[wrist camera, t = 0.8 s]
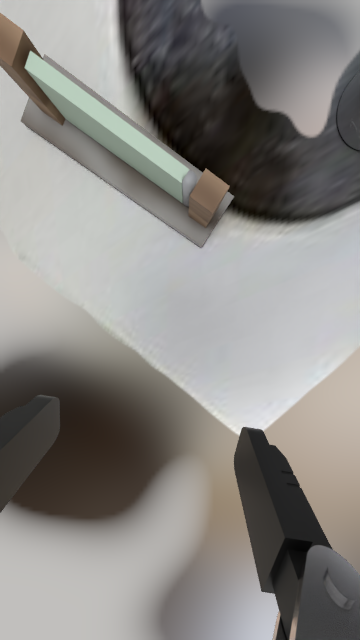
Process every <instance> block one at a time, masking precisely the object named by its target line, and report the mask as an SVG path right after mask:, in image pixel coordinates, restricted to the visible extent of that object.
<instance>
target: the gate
mask: <svg viewBox="0 0 360 640" xmlns="http://www.w3.org/2000/svg"><path fill="white" fill-rule="evenodd" d="M25 69H26V70H27V72H28V73H29V74H30V75H31V77H32V78H33V79H34V80H35V82H36V83H37V84H38V85H39V87H40V88H41V89H42V90H43V92H44V93H45V94H46V95H47V97H48V98H49V99H50V100H51V101H52V103H53V104H54V105H55V106H56V108H57V109H58V110H59V111H60V113H61V114H62V115H63V116H64V118H65V119H66V120H68V121H69V122H70V123H72V124H73V125H74V126H76V127H77V128H79V129H80V130H81V131H83V132H84V133H86V134H87V135H88V136H90V137H91V138H92V139H94V140H95V141H97V142H98V143H99V144H101V145H102V146H104V147H105V148H106V149H108V150H109V151H111V152H112V153H113V154H115V155H116V156H117V157H119V158H120V159H122V160H123V161H124V162H126V163H127V164H129V165H130V166H131V167H133V168H134V169H136V170H137V171H138V172H140V173H141V174H142V175H144V176H145V177H147V178H148V179H149V180H151V181H152V182H154V183H155V184H156V185H158V186H159V187H160V188H162V189H163V190H165V191H166V192H167V193H169V194H170V195H172V196H173V197H174V198H176V199H177V200H179V201H180V202H181V203H183V204H184V205H185V206H186V207H189V196H190V194H191V193H192V191H193V189H194V188H195V186H196V183H197V176H196V174H195V173H194V172H193V171H191V170H189V169H188V168H187V167H186V166H184V165H183V164H182V163H180V162H179V161H178V160H176V159H175V158H174V157H172V156H171V155H170V154H168V153H167V152H166V151H164V150H163V149H162V148H160V147H159V146H158V145H156V144H155V143H154V142H152V141H151V140H150V139H148V138H147V137H146V136H144V135H143V134H142V133H140V132H139V131H137V130H136V129H135V128H133V127H132V126H131V125H129V124H128V123H127V122H125V121H124V120H123V119H121V118H120V117H119V116H117V115H116V114H115V113H113V112H112V111H111V110H109V109H108V108H107V107H105V106H104V105H103V104H101V103H100V102H99V101H97V100H96V99H95V98H93V97H92V96H91V95H89V94H88V93H87V92H85V91H84V90H83V89H81V88H80V87H79V86H77V85H76V84H75V83H73V82H72V81H71V80H69V79H68V78H67V77H65V76H64V75H63V74H61V73H60V72H59V71H57V70H56V69H55V68H53V67H52V66H51V65H49V64H48V63H46V62H45V61H44V60H42V59H41V58H40V57H38V56H37V55H36V54H34V53H33V52H32V51H30V53H29V56H28V59H27V62H26V65H25Z"/></svg>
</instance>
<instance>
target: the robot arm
mask: <svg viewBox="0 0 360 640" xmlns="http://www.w3.org/2000/svg"><path fill="white" fill-rule="evenodd" d="M337 125H338V128H339V132H340V134H341V136H342V138H343V140H344V141H345V142H346V143H347V144H348V145H349V146H351V147H352V148H354V149H357V150H360V71H359V72H358V73H357V74H356V75H355V76H354V78H353V79H352V80H351V81H350V83H349V84H348V85H347V87H346V88H345V90H344V92H343V94H342V96H341V99H340V102H339V106H338V112H337ZM59 430H60V402H59V399H58V398H56V397H50V396H43V395H38V396H36V397H35V398H34V399H32V400H31V401H30V402H29V403H28V404H27V405H25V406H20V407H18V408H16V409H14V410H12V411H10V412H8V413H6V414H4V415H3V416H2V417H1V418H0V512H1V511H2V510H3V509H4V507H5V506H6V505H7V503H8V502H9V501H10V499H11V498H12V497H13V495H14V494H15V493H16V491H17V490H18V489H19V488H20V486H21V485H22V484H23V482H24V481H25V480H26V478H27V477H28V476H29V474H30V473H31V472H32V470H33V469H34V468H35V467H36V465H37V464H38V463H39V461H40V460H41V459H42V457H43V456H44V455H45V454H46V452H47V451H48V450H49V448H50V447H51V446H52V444H53V443H54V441H55V440H56V438H57V436H58V433H59ZM234 469H235V475H236V478H237V483H238V487H239V492H240V497H241V501H242V506H243V510H244V515H245V519H246V523H247V528H248V532H249V537H250V542H251V546H252V550H253V555H254V559H255V564H256V568H257V573H258V577H259V581H260V586H261V591H262V592H267V593H274V594H275V596H276V600H277V604H278V607H279V612H278V616H277V620H276V625H275V630H274V634H273V640H360V575H359V574H358V572H357V571H356V570H355V569H354V568H353V566H352V565H351V564H350V563H349V562H348V561H347V560H346V559H344V558H343V557H342V556H341V555H340V554H338V553H337V552H335V551H334V550H333V549H332V547H331V546H330V544H329V542H328V540H327V538H326V536H325V534H324V532H323V530H322V528H321V526H320V524H319V522H318V520H317V518H316V516H315V514H314V512H313V510H312V508H311V506H310V504H309V503H308V501H307V499H306V497H305V495H304V493H303V491H302V489H301V488H300V487H299V486H300V485H299V483H298V481H297V479H296V477H295V475H293V471H292V469H291V467H290V465H289V463H288V461H287V459H286V458H285V456H284V455H283V454H282V453H281V452H280V451H279V450H278V448H277V447H276V446H274V445H269V443H268V441H267V439H266V436H265V434H264V432H263V431H262V430H261V429H254V428H248V427H243V428H242V430H241V433H240V437H239V441H238V444H237V448H236V452H235V455H234Z"/></svg>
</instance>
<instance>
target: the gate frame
mask: <svg viewBox="0 0 360 640" xmlns="http://www.w3.org/2000/svg"><path fill="white" fill-rule="evenodd" d="M30 51H32V52H33V53H34V54H36V55H37V56H38V57H40V58H41V59H42V60H44V61H45V62H46V63H48V64H49V65H51V66H52V67H53V68H55V69H56V70H57V71H59V72H60V73H61V74H63V75H64V76H65V77H67V78H68V79H69V80H71V81H72V82H73V83H75V84H76V85H77V86H79V87H80V88H81V89H83V90H84V91H85V92H87V93H88V94H89V95H91V96H92V97H93V98H95V99H96V100H97V101H99V102H100V103H101V104H103V105H104V106H105V107H107V108H108V109H109V110H111V111H112V112H113V113H115V114H116V115H117V116H119V117H120V118H121V119H123V120H124V121H125V122H127V123H128V124H129V125H131V126H132V127H133V128H135V129H136V130H137V131H139V132H140V133H142V134H143V135H144V136H146V137H147V138H148V139H150V140H151V141H152V142H154V143H155V144H156V145H158V146H159V147H160V148H162V149H163V150H164V151H166V152H167V153H168V154H170V155H171V156H172V157H174V158H175V159H176V160H178V161H179V162H180V163H182V164H183V165H184V166H186V167H187V168H188V169H189V170H191V171H193V172H194V173H195V174H196V176H197V183H196V186H195V188H194V189H193V191H192V193H191V194H190V196H189V207H186V206H185V205H184V204H183V203H181V202H180V201H179V200H177V199H176V198H174V197H173V196H172V195H170V194H169V193H167V192H166V191H165V190H163V189H162V188H160V187H159V186H158V185H156V184H155V183H154V182H152V181H151V180H149V179H148V178H147V177H145V176H144V175H142V174H141V173H140V172H138V171H137V170H136V169H134V168H133V167H131V166H130V165H129V164H127V163H126V162H124V161H123V160H122V159H120V158H119V157H117V156H116V155H115V154H113V153H112V152H111V151H109V150H108V149H106V148H105V147H104V146H102V145H101V144H99V143H98V142H97V141H95V140H94V139H92V138H91V137H90V136H88V135H87V134H86V133H84V132H83V131H81V130H80V129H79V128H77V127H76V126H74V125H73V124H72V123H70V122H69V121H68V120H66V119H65V118H64V116H63V115H62V114H61V113H60V111H59V110H58V109H57V108H56V106H55V105H54V104H53V103H52V101H51V100H50V99H49V98H48V97H47V95H46V94H45V93H44V92H43V90H42V89H41V88H40V87H39V85H38V84H37V83H36V82H35V80H34V79H33V78H32V77H31V75H30V74H29V73H28V72H27V70H26V69H25V65H26V62H27V59H28V56H29V53H30ZM0 66H1V67H2V68H3V69H4V70H5V71H6V72H7V73H8V75H9V76H10V77H11V78H12V79H13V80H14V81H15V82H16V83H17V84H18V85H19V87H20V88H21V89H22V90H23V91H24V92H25V93H26V94H27V95H28V96H29V99H28V102H27V105H26V107H25V110H24V113H23V116H22V119H21V122H22V123H24V124H25V125H26V126H27V127H28V128H30V129H31V130H33V131H34V132H36V133H37V134H38V135H40V136H41V137H43V138H44V139H46V140H47V141H49V142H50V143H51V144H53V145H54V146H56V147H57V148H59V149H60V150H61V151H63V152H64V153H66V154H67V155H69V156H70V157H71V158H73V159H74V160H76V161H77V162H79V163H80V164H81V165H83V166H84V167H86V168H87V169H89V170H90V171H91V172H93V173H94V174H96V175H97V176H99V177H100V178H101V179H103V180H104V181H106V182H107V183H109V184H110V185H111V186H113V187H114V188H116V189H117V190H119V191H120V192H121V193H123V194H124V195H126V196H127V197H129V198H130V199H131V200H133V201H134V202H136V203H137V204H139V205H140V206H141V207H143V208H144V209H146V210H147V211H149V212H150V213H151V214H153V215H154V216H156V217H157V218H159V219H160V220H162V221H163V222H164V223H166V224H167V225H169V226H170V227H172V228H173V229H174V230H176V231H177V232H179V233H180V234H182V235H183V236H184V237H186V238H187V239H189V240H190V241H192V242H193V243H194V244H196V245H197V246H199V247H200V248H201V247H202V246H203V244H204V243H205V241H206V240H207V238H208V236H209V235H210V233H211V232H212V230H213V229H214V227H215V226H216V224H217V222H218V221H219V219H220V218H221V216H222V215H223V213H224V212H225V210H226V208H227V207H228V205H229V204H230V202H231V201H232V199H233V198H234V196H233V195H231V194H230V193H229V192H227V191H228V189H229V187H230V186H229V185H227V184H226V183H225V182H223V181H222V180H221V179H219V178H218V177H217V176H215V175H214V174H213V173H211V172H210V171H209V170H207V169H205V171H204V172H203V173H202V172H201V171H199V170H198V169H197V168H195V167H194V166H193V165H191V164H190V163H189V162H187V161H186V160H185V159H184V158H182V157H181V156H180V155H178V154H177V153H176V152H174V151H173V150H172V149H170V148H169V147H168V146H166V145H165V144H164V143H162V142H161V141H160V140H158V139H157V138H156V137H154V136H153V135H152V134H150V133H149V132H148V131H146V130H145V129H144V128H142V127H141V126H140V125H138V124H137V123H136V122H134V121H133V120H132V119H130V118H129V117H128V116H126V115H125V114H124V113H122V112H121V111H120V110H118V109H117V108H116V107H114V106H113V105H112V104H110V103H109V102H108V101H106V100H105V99H104V98H102V97H101V96H100V95H98V94H97V93H96V92H94V91H93V90H92V89H90V88H89V87H88V86H86V85H85V84H84V83H82V82H81V81H80V80H78V79H77V78H76V77H74V76H73V75H72V74H70V73H69V72H68V71H66V70H65V69H64V68H62V67H61V66H60V65H58V64H57V63H56V62H54V61H53V60H52V59H50V58H49V57H48V56H46V55H45V54H44V57H43V58H42V57H41V55H40V54H39V53H38V51H37V50H36V48H35V47H34V45H33V44H32V42H31V41H30V39H29V38H28V36H27V35H26V33H25V32H24V31H23V30H22V29H21V28H20V27H18V26H17V25H16V24H14V23H13V22H12V21H10V20H9V19H8V18H6V17H5V16H4V15H2V14H1V13H0Z"/></svg>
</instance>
